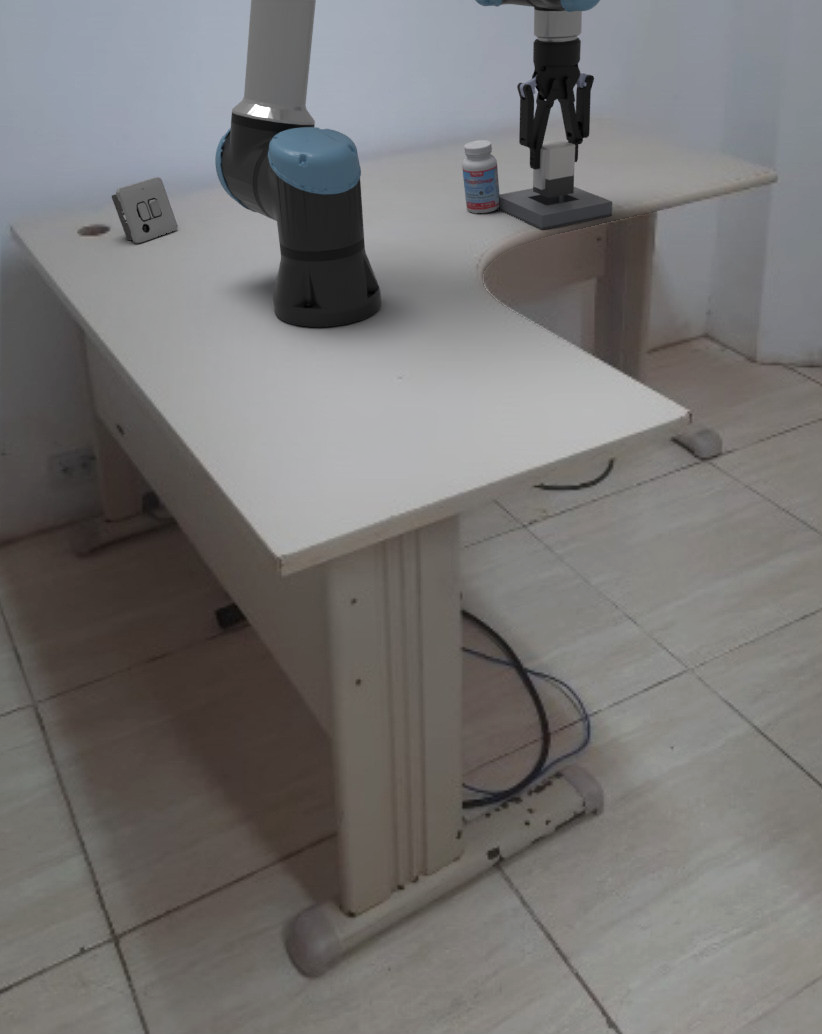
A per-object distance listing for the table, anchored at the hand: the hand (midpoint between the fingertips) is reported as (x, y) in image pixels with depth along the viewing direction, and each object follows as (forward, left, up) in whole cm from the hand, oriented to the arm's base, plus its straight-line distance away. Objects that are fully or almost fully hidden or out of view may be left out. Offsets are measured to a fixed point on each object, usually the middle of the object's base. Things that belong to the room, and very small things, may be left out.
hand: (553, 184), depth 182 cm
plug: (0, 0, -1) cm, 1 cm away
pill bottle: (+9, +9, -5) cm, 13 cm away
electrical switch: (+29, +64, -5) cm, 71 cm away
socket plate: (0, 0, -5) cm, 5 cm away
